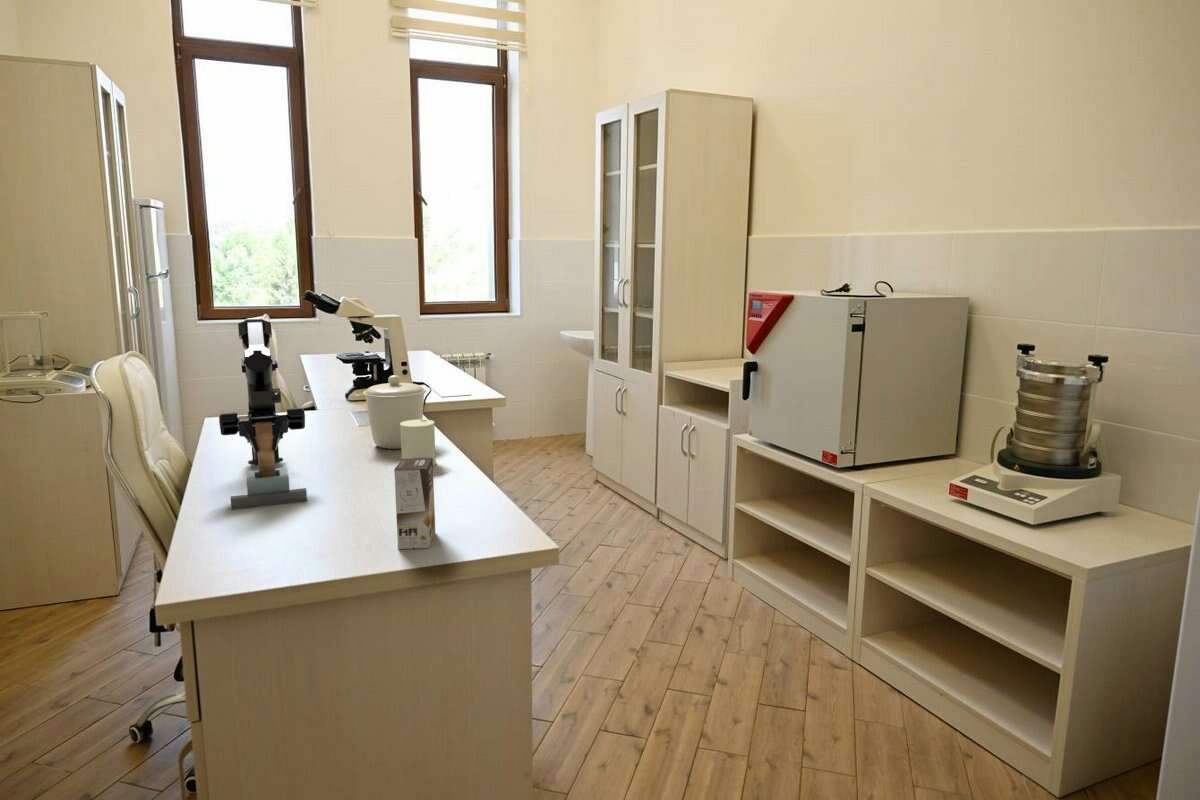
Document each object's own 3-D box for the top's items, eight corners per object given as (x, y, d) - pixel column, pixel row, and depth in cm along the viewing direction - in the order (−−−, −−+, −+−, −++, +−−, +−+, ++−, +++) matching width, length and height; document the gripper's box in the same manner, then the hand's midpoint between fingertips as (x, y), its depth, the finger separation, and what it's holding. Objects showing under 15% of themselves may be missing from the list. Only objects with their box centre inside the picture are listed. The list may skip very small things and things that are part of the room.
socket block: (248, 491, 192) (246, 471, 191) (288, 487, 196) (286, 467, 195) (248, 502, 184) (246, 481, 183) (290, 497, 187) (288, 476, 186)
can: (442, 461, 219) (441, 418, 217) (424, 470, 211) (423, 425, 209) (413, 458, 222) (411, 416, 220) (394, 467, 214) (392, 423, 212)
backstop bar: (231, 507, 180) (230, 496, 180) (306, 498, 187) (305, 488, 186) (231, 509, 179) (230, 498, 178) (307, 500, 185) (306, 490, 184)
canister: (433, 449, 233) (430, 378, 229) (369, 455, 226) (365, 381, 222) (423, 436, 249) (420, 369, 245) (363, 441, 243) (359, 372, 239)
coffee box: (430, 548, 155) (427, 469, 152) (397, 549, 155) (393, 469, 152) (436, 532, 164) (433, 456, 161) (404, 533, 164) (401, 457, 161)
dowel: (257, 476, 189) (252, 423, 187) (272, 474, 191) (268, 421, 189) (262, 480, 186) (257, 425, 184) (277, 477, 189) (273, 423, 186)
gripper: (215, 379, 184) (218, 436, 177) (301, 374, 192) (308, 429, 184) (219, 407, 193) (222, 462, 185) (301, 401, 200) (307, 454, 193)
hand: (265, 451), depth 186 cm, fingers closed on dowel, 4 cm apart
